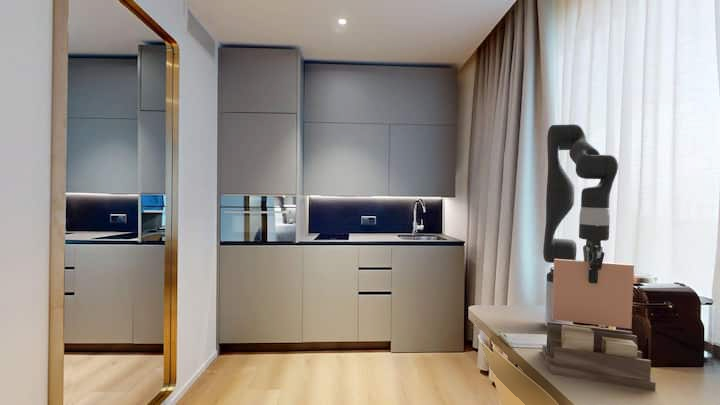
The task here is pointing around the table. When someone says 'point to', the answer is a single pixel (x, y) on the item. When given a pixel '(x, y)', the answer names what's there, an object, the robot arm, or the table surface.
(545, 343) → the baseboard molding
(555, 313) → the terracotta board
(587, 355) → the walnut rack
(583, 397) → the table surface
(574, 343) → the offcut stack
